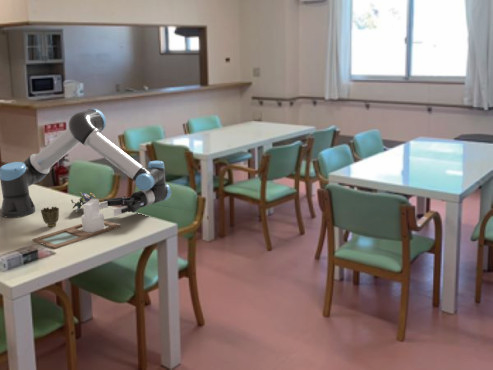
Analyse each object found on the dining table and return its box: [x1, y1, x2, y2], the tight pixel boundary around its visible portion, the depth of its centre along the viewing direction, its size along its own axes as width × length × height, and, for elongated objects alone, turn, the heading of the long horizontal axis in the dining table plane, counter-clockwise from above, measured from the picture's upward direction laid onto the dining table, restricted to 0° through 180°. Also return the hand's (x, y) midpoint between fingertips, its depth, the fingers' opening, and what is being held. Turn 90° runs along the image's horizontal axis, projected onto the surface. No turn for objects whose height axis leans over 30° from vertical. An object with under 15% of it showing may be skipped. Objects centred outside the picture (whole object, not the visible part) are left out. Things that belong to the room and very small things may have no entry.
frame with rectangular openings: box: [32, 220, 121, 250], centre depth 240 cm, size 16×32×1 cm, turn 140°
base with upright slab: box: [81, 198, 105, 233], centre depth 245 cm, size 9×9×12 cm
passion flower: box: [70, 191, 97, 213], centre depth 271 cm, size 11×11×12 cm
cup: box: [40, 206, 60, 228], centre depth 250 cm, size 8×7×8 cm
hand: (104, 210), depth 248 cm, fingers open, 13 cm apart
